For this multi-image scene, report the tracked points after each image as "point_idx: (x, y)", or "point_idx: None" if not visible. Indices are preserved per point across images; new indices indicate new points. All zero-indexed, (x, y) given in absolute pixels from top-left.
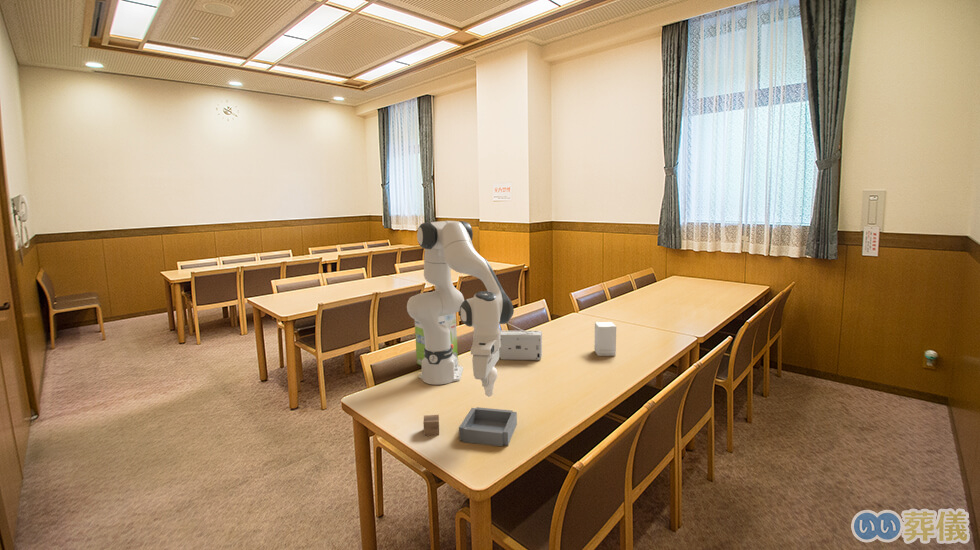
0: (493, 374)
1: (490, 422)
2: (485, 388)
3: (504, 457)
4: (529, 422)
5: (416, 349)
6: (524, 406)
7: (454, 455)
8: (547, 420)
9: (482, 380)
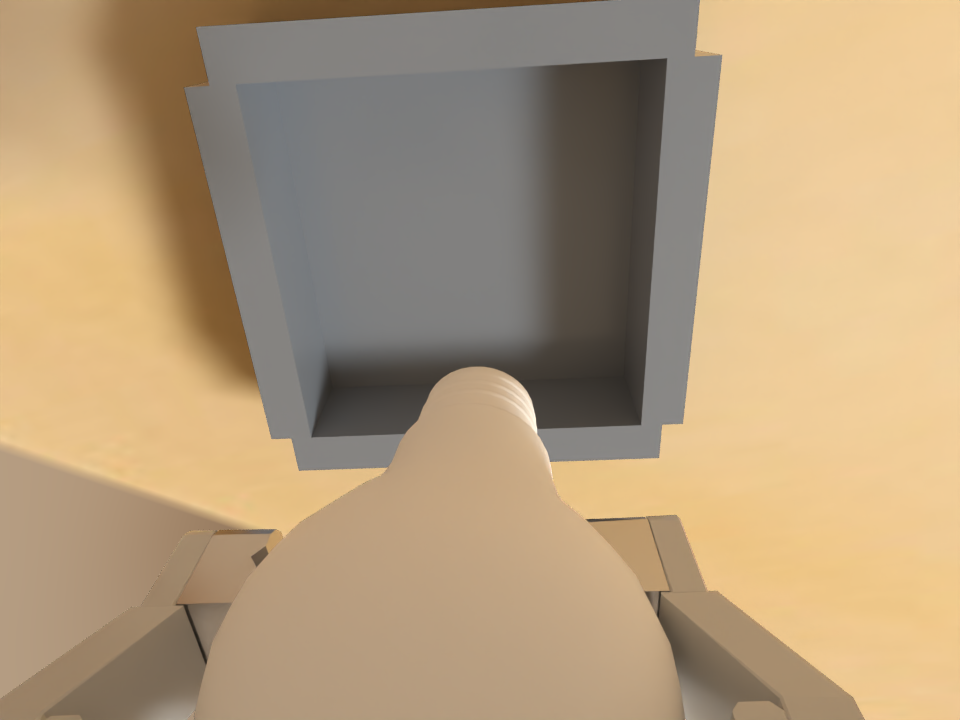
0: None
1: (605, 212)
2: (394, 455)
3: (185, 421)
4: (677, 467)
5: None
6: (955, 388)
7: (18, 78)
8: (720, 555)
9: (101, 648)
